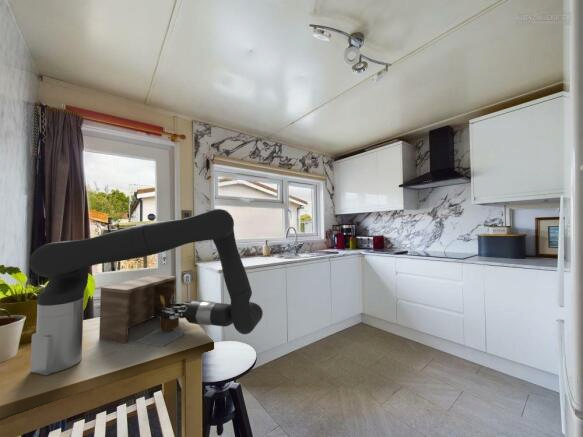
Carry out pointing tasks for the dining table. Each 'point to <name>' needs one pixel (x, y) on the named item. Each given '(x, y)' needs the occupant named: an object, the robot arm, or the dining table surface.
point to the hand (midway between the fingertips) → (163, 308)
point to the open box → (132, 304)
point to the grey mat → (161, 337)
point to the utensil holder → (165, 323)
